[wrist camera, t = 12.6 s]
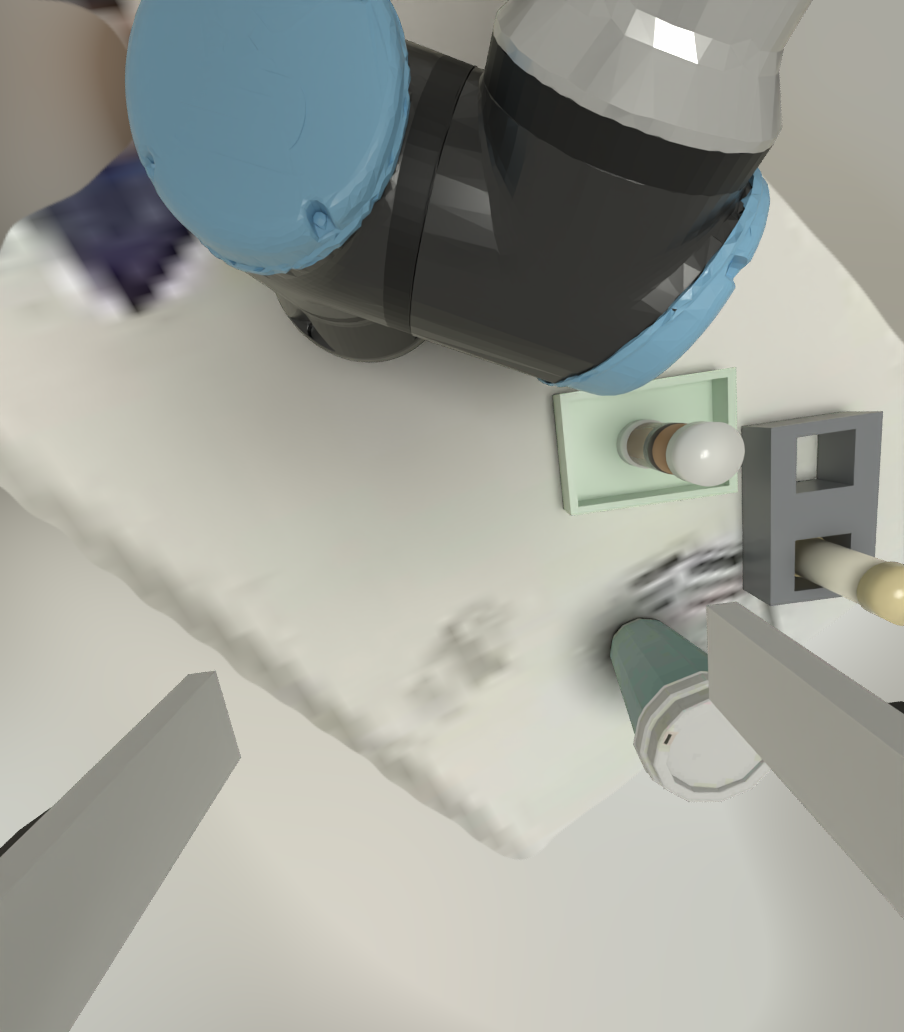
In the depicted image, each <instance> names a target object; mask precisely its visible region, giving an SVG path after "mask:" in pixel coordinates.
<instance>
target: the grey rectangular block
mask: <svg viewBox="0 0 904 1032" xmlns="http://www.w3.org/2000/svg"><path fill="white" fill-rule="evenodd" d="M882 420H883V411H866V412H837V413H830V414H823V415H816V416H810V417H803V418H796V419H789V420H783V421H776V422H769V423H762V424H756V425H749V426H742V439H743V442H744V447H745V454H744V459H743V462H742V515H743V589H744V590H745V591H747V592H748V593H750V594H752V595H753V596H755V597H757V598H758V599H760V600H762V601H763V602H765V603H766V604H768V605H770V606H774V605H782V604H790V603H797V602H805V601H812V600H820V599H828V598H835V597H843V596H841V595H839V594H836V593H834V592H832V591H830V590H828V589H826V588H824V587H822V586H820V585H817V584H815V583H813V582H811V581H809V580H807V579H805V578H803V577H796V576H795V541H796V540H803V539H810V538H818V537H821V538H823V539H824V540H826V541H828V542H831V543H834V544H837V545H840V546H843V547H846V548H849V549H852V550H855V551H858V552H861V553H863V554H866V555H869V556H872V557H875V544H876V526H877V508H878V490H879V473H880V455H881V437H882ZM817 434H818V464H817V479H813V480H806V481H799V482H796V461H797V437H803V436H810V435H817Z"/></svg>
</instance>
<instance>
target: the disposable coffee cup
mask: <svg viewBox="0 0 904 1032" xmlns="http://www.w3.org/2000/svg"><path fill="white" fill-rule="evenodd" d="M610 657H611V660H612V663H613V667H614V670H615V673H616V676H617V679H618V683H619V686H620V689H621V692H622V695H623V699H624V702H625V705H626V708H627V711H628V714H629V718H630V721H631V724H632V727H633V730H634V734H635V738H634V743H633V745H634V747H635V749H636V752H637V754H638V756H639V758H640V760H641V762H642V764H643V767H644V769H645V771H646V772H647V773H648V774H649V775H650V777H651V778H652V780H653V781H655V782H656V783H658V784H660V785H661V786H663V787H664V789H666V790H668V791H669V792H671V793H673V794H675V795H677V796H679V797H681V798H683V799H684V800H686V801H688V802H722V801H724V800H727V799H729V798H731V797H734V796H737V795H739V794H741V793H744V792H746V791H749V790H751V789H753V788H754V787H755V786H756V785H757V783H759V782H760V781H761V780H762V779H763V778H764V776H766V775H767V774H768V773H769V772H770V771H771V769H770V767H769V766H768V765H767V764H766V763H765V762H764V761H763V760H762V758H761V757H760V756H759V755H758V754H757V753H756V752H755V751H754V749H753V748H752V747H751V746H750V745H749V744H748V743H747V741H746V740H745V739H744V738H743V737H742V736H741V735H740V734H739V732H738V731H737V730H736V729H735V728H734V727H733V726H732V725H731V723H730V722H729V721H728V720H727V719H726V718H725V717H724V716H723V714H722V713H721V712H720V711H719V710H718V709H717V708H716V706H715V705H714V704H713V703H712V702H711V701H710V700H709V680H708V654H707V653H705V652H704V651H702V650H701V649H700V648H698V647H697V646H695V645H694V644H692V643H691V642H690V641H688V640H687V639H685V638H684V637H682V636H681V635H680V634H678V633H677V632H675V631H674V630H672V629H671V628H669V627H668V626H666V625H665V624H663V623H662V622H660V621H659V620H653V619H639V618H638V619H636V620H633V621H631V622H629V623H626V624H624V625H622V627H621V628H620V629H619V630H618V631H617V633H616V634H615V635H614V636H613V640H612V646H611V652H610Z"/></svg>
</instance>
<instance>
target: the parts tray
mask: <svg viewBox="0 0 904 1032" xmlns="http://www.w3.org/2000/svg"><path fill="white" fill-rule="evenodd" d="M552 396H553V406H554V416H555V426H556V437H557V447H558V457H559V467H560V478H561V488H562V498H563V508H564V510H565V511H566V512H568V513H569V514H570V515H571V516H573V515H581V514H588V513H595V512H602V511H609V510H616V509H623V508H630V507H637V506H644V505H651V504H658V503H665V502H672V501H679V500H686V499H693V498H700V497H707V496H714V495H721V494H728V493H735V492H738V473H737V472H736V474H735V475H734V476H733V477H732V478H730V479H729V480H728V481H726V482H724V483H722V484H719V485H716V486H709V487H708V486H700V485H697V484H693V483H690V482H687V481H683V480H681V479H679V478H677V477H676V476H675V475H671V474H666V473H663V472H659V471H657V470H655V469H651V468H649V469H643V468H639V467H636V466H632V465H629V464H627V463H626V462H624V461H623V460H622V459H621V458H620V456H619V454H618V452H617V445H616V443H617V438H618V435H619V433H620V431H621V430H622V429H623V428H624V427H625V426H626V425H627V424H629V423H630V422H632V421H635V420H657V421H660V422H662V423H669V422H673V423H687V424H688V423H691V422H697V421H705V422H722V423H726V424H729V425H731V426H732V427H734V428H735V429H736V430H737V390H736V367H733V368H726V369H720V370H713V371H707V372H700V373H694V374H687V375H681V376H674V377H668V378H661V379H655V380H652V381H650V382H648V383H647V384H645V385H644V386H642V387H640V388H638V389H635V390H633V391H630V392H628V393H625V394H620V395H616V396H599V395H595V394H591V393H588V392H584V391H576V392H570V393H563V394H557V395H552Z"/></svg>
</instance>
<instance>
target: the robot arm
mask: <svg viewBox="0 0 904 1032" xmlns="http://www.w3.org/2000/svg"><path fill="white" fill-rule="evenodd" d="M811 2H812V0H509V1H508V2H507V3H506V4H504V5H503V6H502V7H501V8H500V9H499V10H498V12H497V15H496V18H495V22H494V26H493V32H492V37H491V42H490V47H489V52H488V57H487V62H486V66H485V69H480V68H478V67H477V66H473V65H471V64H468V63H465V62H463V61H460V60H457V59H455V58H452V57H450V56H447V55H444V54H442V53H439V52H437V51H434V50H432V49H429V48H426V47H424V46H421V45H419V44H416V43H413V42H411V41H408V40H406V39H405V37H404V32H403V29H402V26H401V23H400V20H399V18H398V15H397V13H396V11H395V9H394V7H393V5H392V3H391V1H390V0H141V2H140V5H139V7H138V10H137V12H136V15H135V19H134V23H133V26H132V29H131V34H130V38H129V44H128V50H127V59H126V71H125V73H126V74H125V86H126V87H125V91H126V104H127V111H128V118H129V123H130V128H131V133H132V136H133V140H134V143H135V146H136V149H137V152H138V155H139V158H140V161H141V163H142V165H143V166H144V167H145V169H146V173H147V175H148V177H149V178H150V179H151V181H152V183H153V185H154V187H155V189H156V192H157V194H158V195H159V197H160V198H161V200H162V201H163V202H164V204H165V205H166V206H167V208H168V209H169V210H170V211H171V213H172V214H173V215H174V216H175V217H176V218H177V219H178V220H179V221H180V222H181V223H182V224H183V225H184V226H185V227H186V228H187V229H188V230H189V231H190V232H192V233H193V234H194V235H195V236H196V237H197V238H198V239H199V240H200V242H201V243H202V244H203V245H204V246H205V247H207V248H208V249H209V251H210V252H211V253H212V254H213V255H214V256H215V257H216V258H219V259H222V260H224V261H225V262H226V263H227V264H228V265H229V266H232V267H234V268H236V269H238V270H241V271H244V272H246V273H247V274H249V275H250V276H252V277H253V278H255V279H256V280H258V281H259V282H261V283H262V284H264V285H265V286H267V287H269V288H270V289H272V290H273V291H275V293H276V295H277V298H278V300H279V302H280V304H281V306H282V308H283V309H284V311H285V313H286V314H287V316H288V317H289V318H290V320H291V321H292V323H293V324H294V325H295V326H296V327H297V328H298V330H299V331H300V332H301V333H302V334H303V335H305V336H306V337H307V338H308V339H309V340H310V341H312V342H313V343H314V344H316V345H318V346H319V347H321V348H322V349H324V350H326V351H328V352H330V353H332V354H334V355H337V356H339V357H342V358H344V359H348V360H352V361H357V362H382V361H387V360H391V359H394V358H397V357H400V356H402V355H404V354H406V353H408V352H410V351H412V350H413V349H415V348H416V347H418V346H419V345H420V344H421V343H423V342H424V341H425V340H427V341H430V342H433V343H436V344H439V345H442V346H445V347H448V348H451V349H454V350H457V351H460V352H463V353H466V354H469V355H472V356H475V357H478V358H481V359H484V360H486V361H489V362H492V363H495V364H498V365H501V366H504V367H507V368H510V369H513V370H516V371H519V372H522V373H525V374H528V375H531V376H534V377H537V379H538V380H539V381H541V382H542V383H544V384H546V385H549V386H557V387H565V386H567V387H570V388H574V389H577V390H581V391H584V392H588V393H591V394H595V395H599V396H616V395H620V394H625V393H628V392H630V391H633V390H635V389H638V388H640V387H642V386H644V385H645V384H647V383H648V382H650V381H652V380H653V379H655V378H656V377H658V376H659V375H660V374H662V373H663V372H664V371H665V370H667V369H668V368H669V367H670V366H671V365H672V364H673V363H675V362H676V361H677V360H678V359H679V358H680V357H681V356H682V355H683V354H684V353H685V352H686V351H687V350H688V349H689V348H690V347H691V346H692V345H693V344H694V342H695V341H696V340H697V339H698V338H699V337H700V336H701V335H702V333H703V332H704V331H705V330H706V329H707V327H708V326H709V325H710V324H711V322H712V321H713V320H714V319H715V317H716V316H717V315H718V313H719V312H720V310H721V309H722V308H723V306H724V305H725V303H726V302H727V300H728V299H729V297H730V296H731V294H732V292H733V291H734V289H735V283H734V281H733V278H734V277H735V276H736V275H737V273H738V272H739V271H740V270H741V269H742V268H743V267H745V266H746V265H747V264H748V263H749V262H750V261H751V259H752V257H753V255H754V253H755V251H756V249H757V247H758V244H759V242H760V239H761V237H762V235H763V231H764V228H765V225H766V221H767V216H768V211H769V206H770V196H769V189H768V184H767V183H766V181H765V179H764V178H763V177H762V174H761V172H760V170H759V168H758V166H759V164H760V163H761V162H762V160H763V159H764V157H765V156H766V154H767V153H768V151H769V150H770V148H771V147H772V145H773V144H774V142H775V141H776V139H777V137H778V135H779V133H780V131H781V129H782V113H781V94H780V77H779V71H780V65H781V60H782V56H783V51H784V47H785V45H786V44H787V42H788V40H789V38H790V37H791V35H792V34H793V32H794V30H795V29H796V27H797V25H798V24H799V22H800V20H801V19H802V17H803V15H804V13H805V12H806V10H807V9H808V7H809V5H810V4H811ZM706 613H707V647H708V680H709V700H710V701H711V702H712V703H713V704H714V705H715V706H716V708H717V709H718V710H719V711H720V712H721V713H722V714H723V716H724V717H725V718H726V719H727V720H728V721H729V722H730V723H731V725H732V726H733V727H734V728H735V729H736V730H737V731H738V732H739V734H740V735H741V736H742V737H743V738H744V739H745V740H746V741H747V743H748V744H749V745H750V746H751V747H752V748H753V749H754V751H755V752H756V753H757V754H758V755H759V756H760V757H761V758H762V760H763V761H764V762H765V763H766V764H767V765H768V766H769V767H770V769H771V770H772V771H773V772H774V773H775V774H776V775H777V776H778V778H779V779H780V780H781V781H782V782H783V783H784V784H785V785H786V787H787V788H788V789H789V790H790V791H791V792H792V793H793V795H794V796H795V797H796V798H797V799H798V800H799V801H800V802H801V804H803V806H804V807H805V808H806V809H807V810H808V812H809V813H810V814H811V815H812V816H813V817H814V818H815V819H816V821H817V822H818V823H819V824H820V825H821V826H822V827H823V828H824V830H825V831H826V832H827V833H828V834H829V835H830V836H831V837H832V839H833V840H834V841H835V842H836V843H837V844H838V845H839V847H840V848H841V849H842V850H843V851H844V852H845V853H846V854H847V856H848V857H849V858H850V859H851V860H852V861H853V862H854V863H855V865H856V866H857V867H858V868H859V869H860V870H861V871H862V872H863V874H864V875H865V876H866V877H867V878H868V879H869V880H870V882H871V883H872V884H873V885H874V886H875V887H876V888H877V889H878V891H879V892H880V893H881V894H882V895H883V896H884V897H885V898H886V899H887V900H888V902H889V903H890V904H891V905H892V906H893V907H894V909H895V910H896V911H897V912H898V913H899V914H900V915H901V917H902V918H903V919H904V702H902V701H900V702H892V703H887V702H885V701H883V700H882V699H881V698H879V697H878V696H876V695H875V694H873V693H872V692H870V691H869V690H867V689H866V688H864V687H863V686H861V685H860V684H858V683H857V682H855V681H854V680H852V679H851V678H849V677H848V676H846V675H845V674H843V673H842V672H840V671H839V670H837V669H836V668H834V667H833V666H831V665H830V664H828V663H827V662H825V661H824V660H823V659H821V658H820V657H818V656H817V655H815V654H813V653H812V652H811V651H809V650H808V649H806V648H805V647H803V646H802V645H800V644H799V643H797V642H796V641H794V640H793V639H791V638H790V637H788V636H787V635H785V634H784V633H782V632H781V631H779V630H778V629H776V628H775V627H773V626H772V625H770V624H769V623H767V622H766V621H764V620H763V619H761V618H760V617H758V616H757V615H755V614H754V613H753V612H751V611H750V610H748V609H747V608H745V607H744V606H742V605H741V604H739V603H738V602H730V603H722V604H715V605H707V606H706ZM240 758H241V756H240V752H239V749H238V746H237V742H236V739H235V735H234V732H233V729H232V725H231V722H230V718H229V715H228V711H227V708H226V705H225V701H224V698H223V694H222V691H221V688H220V684H219V681H218V677H217V674H216V671H211V672H203V673H196V674H188V675H187V676H186V677H185V678H184V679H183V680H182V681H181V682H180V683H179V684H178V685H177V686H176V687H175V688H174V689H173V690H172V691H171V692H170V693H169V694H168V695H167V696H166V697H165V698H164V699H163V700H162V701H161V702H159V704H157V705H156V706H155V708H153V709H152V710H151V711H150V712H149V713H148V714H147V715H146V716H145V717H144V718H143V719H142V720H141V721H140V722H139V723H138V724H137V725H136V726H135V727H134V728H133V729H132V730H131V731H130V732H129V733H128V734H127V735H126V736H125V737H123V738H122V739H121V740H120V741H119V742H118V743H117V744H116V745H115V746H114V747H113V748H112V749H111V750H110V751H109V752H108V753H107V754H106V755H105V756H104V757H103V758H102V759H101V760H100V761H99V762H98V763H97V764H96V765H95V766H94V767H93V768H92V769H91V770H90V771H88V773H86V775H84V776H83V777H82V778H81V779H80V780H79V781H78V782H77V783H76V784H75V785H74V786H73V787H72V788H71V789H70V790H69V791H68V792H67V793H66V794H65V795H64V796H63V797H62V798H61V799H60V800H59V801H58V802H57V803H56V804H55V805H54V806H53V807H51V808H50V809H48V810H47V811H45V812H44V813H43V814H41V815H40V816H38V817H37V818H36V819H34V820H33V821H31V822H30V823H29V824H27V825H26V826H24V827H23V828H22V829H20V830H19V831H18V832H17V833H16V834H15V835H14V836H13V837H12V838H10V839H9V840H8V841H7V842H6V843H5V844H4V845H3V846H2V847H1V848H0V1032H69V1031H70V1029H71V1027H72V1026H73V1024H74V1023H75V1021H76V1020H77V1018H78V1016H79V1015H80V1013H81V1012H82V1010H83V1008H84V1007H85V1005H86V1003H87V1002H88V1000H89V999H90V997H91V996H92V994H93V993H94V991H95V989H96V988H97V986H98V985H99V983H100V981H101V980H102V978H103V976H104V975H105V973H106V972H107V970H108V969H109V967H110V965H111V964H112V962H113V961H114V959H115V957H116V956H117V954H118V953H119V951H120V949H121V948H122V946H123V945H124V943H125V941H126V940H127V938H128V937H129V935H130V934H131V932H132V930H133V929H134V927H135V925H136V924H137V922H138V921H139V919H140V918H141V916H142V914H143V913H144V911H145V909H146V908H147V906H148V905H149V903H150V902H151V900H152V898H153V897H154V895H155V894H156V892H157V890H158V889H159V887H160V886H161V884H162V882H163V881H164V879H165V878H166V876H167V874H168V873H169V871H170V870H171V868H172V866H173V865H174V863H175V862H176V860H177V859H178V857H179V855H180V854H181V852H182V850H183V849H184V847H185V846H186V844H187V843H188V841H189V839H190V838H191V836H192V834H193V833H194V831H195V830H196V828H197V827H198V825H199V823H200V822H201V820H202V819H203V817H204V816H205V814H206V812H207V811H208V809H209V808H210V806H211V804H212V803H213V801H214V800H215V798H216V796H217V795H218V793H219V792H220V790H221V788H222V787H223V785H224V783H225V782H226V780H227V779H228V777H229V776H230V774H231V772H232V771H233V769H234V768H235V766H236V764H237V763H238V761H239V759H240Z"/></svg>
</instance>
